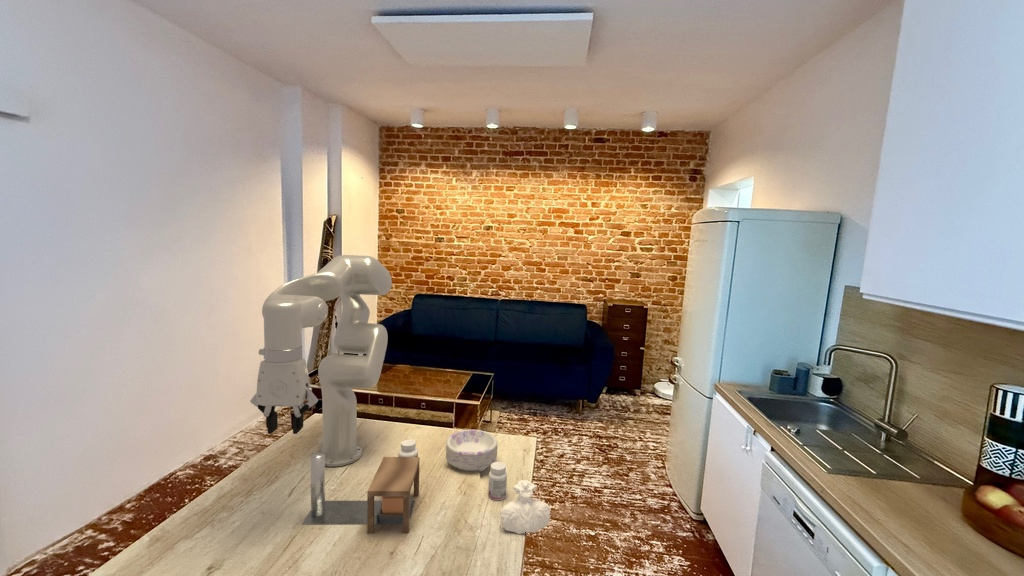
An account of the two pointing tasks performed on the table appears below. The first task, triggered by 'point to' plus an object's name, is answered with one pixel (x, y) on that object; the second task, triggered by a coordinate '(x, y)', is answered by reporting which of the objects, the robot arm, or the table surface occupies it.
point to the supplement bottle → (408, 449)
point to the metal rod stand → (341, 503)
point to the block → (392, 505)
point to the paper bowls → (471, 450)
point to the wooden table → (394, 485)
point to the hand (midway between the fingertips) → (285, 430)
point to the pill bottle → (497, 481)
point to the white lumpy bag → (525, 511)
